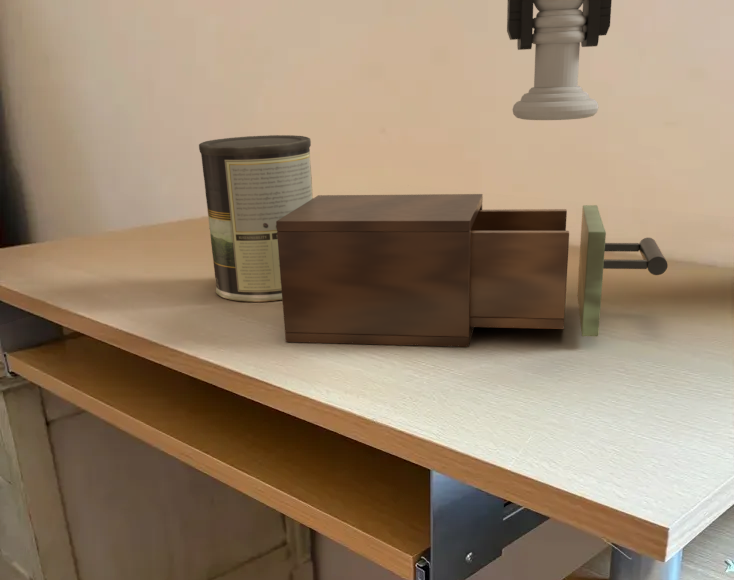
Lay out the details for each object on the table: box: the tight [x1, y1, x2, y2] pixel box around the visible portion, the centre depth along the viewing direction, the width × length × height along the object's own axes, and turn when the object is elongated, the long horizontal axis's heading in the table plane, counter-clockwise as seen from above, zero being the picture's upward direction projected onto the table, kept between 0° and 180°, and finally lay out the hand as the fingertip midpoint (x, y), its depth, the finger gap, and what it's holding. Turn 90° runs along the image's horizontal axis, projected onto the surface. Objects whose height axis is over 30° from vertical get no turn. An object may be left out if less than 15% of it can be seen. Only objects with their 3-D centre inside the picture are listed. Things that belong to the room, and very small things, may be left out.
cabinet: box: [276, 193, 484, 348], centre depth 69 cm, size 15×13×10 cm
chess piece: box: [512, 0, 599, 121], centre depth 51 cm, size 5×5×9 cm
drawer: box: [470, 204, 669, 337], centre depth 66 cm, size 18×11×8 cm, turn 79°
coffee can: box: [198, 134, 314, 303], centre depth 79 cm, size 10×10×14 cm
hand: (557, 46), depth 51 cm, fingers closed on chess piece, 3 cm apart
